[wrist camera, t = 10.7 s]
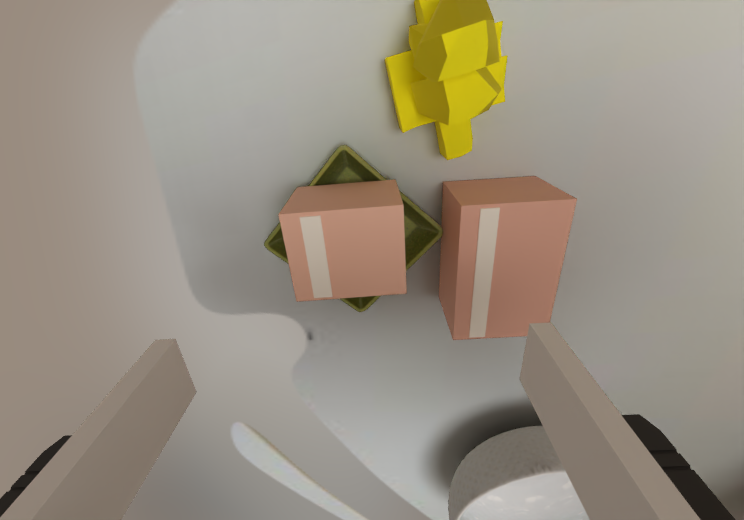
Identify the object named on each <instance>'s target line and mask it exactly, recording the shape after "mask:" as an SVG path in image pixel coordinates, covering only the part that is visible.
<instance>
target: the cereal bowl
mask: <svg viewBox="0 0 744 520" xmlns="http://www.w3.org/2000/svg"><path fill="white" fill-rule="evenodd" d="M448 504H449V506H448V511H449V520H590V519H589V517H588V515H587V513H586V511H585V509H584V507H583V505H582V503H581V501H580V499H579V497H578V495H577V493H576V491H575V489H574V487H573V485H572V483H571V481H570V479H569V477H568V475H567V473H566V471H565V469H564V467H563V465H562V463H561V461H560V459H559V457H558V455H557V453H556V451H555V449H554V447H553V445H552V443H551V441H550V439H549V437H548V435H547V433H546V431H545V429H544V427H543V426H530V427H524V428H517V429H514V430H510V431H508V432H503V433H501V434H499V435H496V436H494V437H491V438H490V439H488V440H486V441H484V442H483V443H481V444H480V445H478V446H476V447H475V449H473V450H472V451H470V452H469V454H468V455H466V456H465V458H464V459H463V460H462V461H461V463H460V465H459V466H458V468H457V470H456V471H455V474H454V476H453V478H452V482H451V485H450V491H449V500H448Z"/></svg>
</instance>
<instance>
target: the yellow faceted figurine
mask: <svg viewBox="0 0 744 520" xmlns="http://www.w3.org/2000/svg"><path fill="white" fill-rule="evenodd" d="M414 5H415V11H416V17H417V23H418V24H417V25H412V26H409V45H410V48H411V50H410V51H406V52H403V53H400V54H397V55H393V56H390V57H387V58H385V64H386V68H387V73H388V77H389V82H390V86H391V91H392V96H393V100H394V105H395V109H396V114H397V118H398V123H399V128H400V129H401V131H402V132H403V133H404V132H406V131H408V130H410V129H412V128H414V127H417V126H421V125H424V124H428V123H431V122H435V127H436V132H437V138H438V144H439V150H440V154H441V155H442V156H443V157H444V158H446V159H447V160H450V159H453V158H457V157H461V156H463V155H465V154H466V153H468V152H470V151H472V139H473V137H472V130H471V122H470V119H472V118H474V117H476V116H477V115H479V114H481V113H483V112H485V111H487V110H489V108H490V107H491V105H494V104H498V103H501V102H505V94H504V80H505V72H506V63H507V56H502V57H501V46H500V38H501V31H502V23H503V21H501V22H497V23H494V19H493V16H492V13H491V11H490V8H489V6H488V3H487V0H415V1H414Z"/></svg>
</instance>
